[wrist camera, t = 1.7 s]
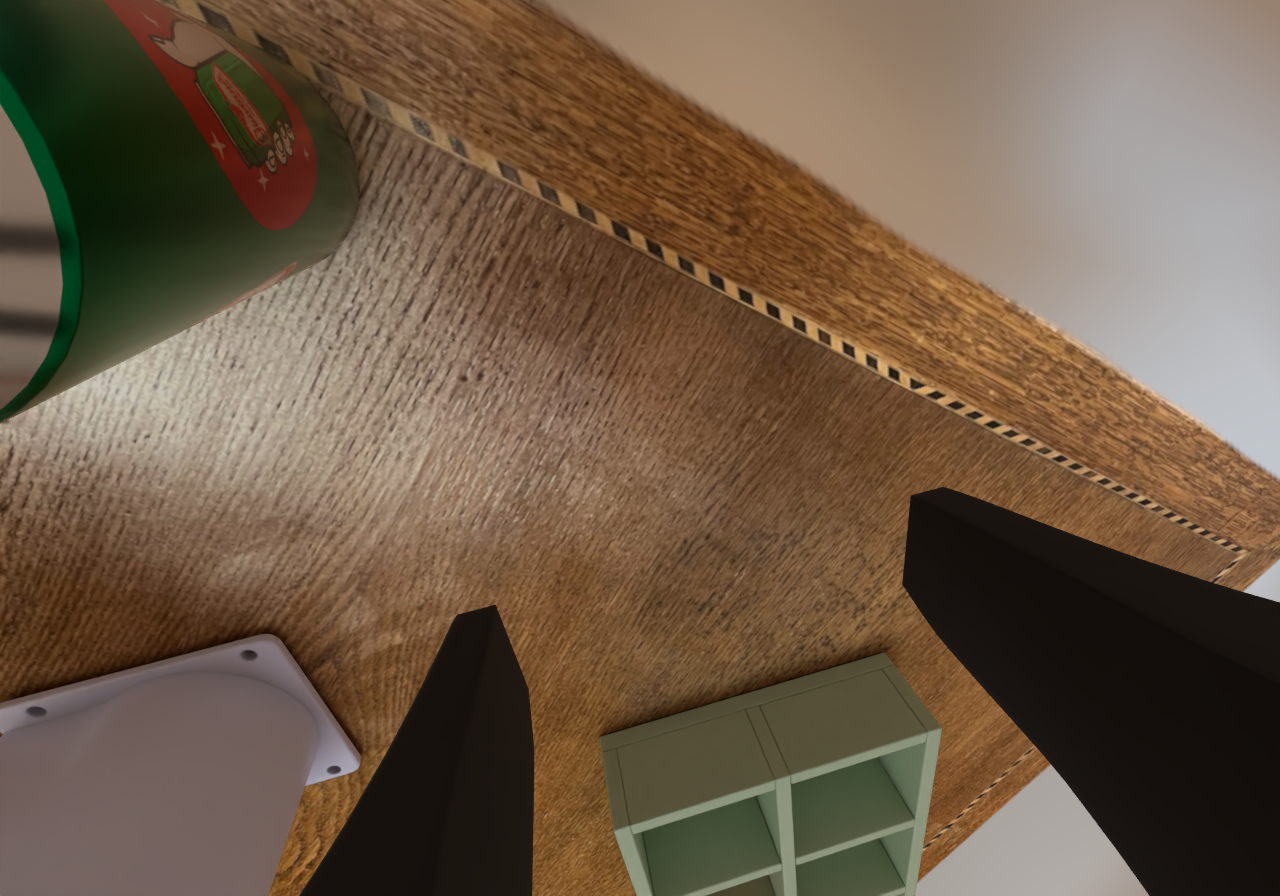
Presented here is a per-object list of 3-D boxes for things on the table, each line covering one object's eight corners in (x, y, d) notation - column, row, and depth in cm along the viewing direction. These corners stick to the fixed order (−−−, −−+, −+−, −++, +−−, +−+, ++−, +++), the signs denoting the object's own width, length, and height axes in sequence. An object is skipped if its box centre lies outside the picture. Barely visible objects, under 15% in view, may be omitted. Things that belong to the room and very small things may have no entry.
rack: (664, 934, 37) (681, 1022, 33) (599, 736, 26) (613, 831, 22) (869, 865, 38) (907, 942, 34) (884, 651, 28) (942, 728, 24)
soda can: (145, 246, 14) (-926, 487, 4) (115, 6, 12) (-2581, -1056, 2) (362, 287, 15) (46, 544, 5) (369, 78, 13) (-145, -222, 3)
